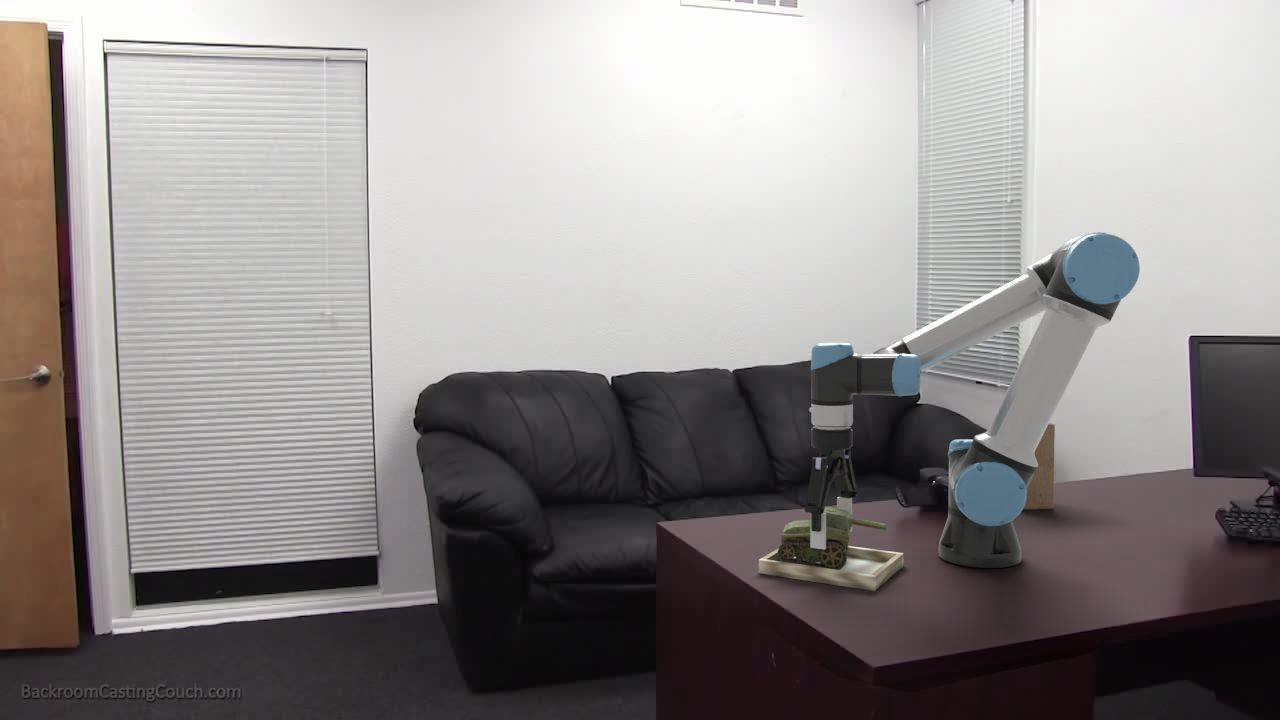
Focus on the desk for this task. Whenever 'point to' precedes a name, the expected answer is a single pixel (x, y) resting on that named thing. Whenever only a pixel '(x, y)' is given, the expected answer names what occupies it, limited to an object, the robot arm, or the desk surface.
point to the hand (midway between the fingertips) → (831, 539)
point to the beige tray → (858, 572)
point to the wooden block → (1043, 473)
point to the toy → (836, 540)
